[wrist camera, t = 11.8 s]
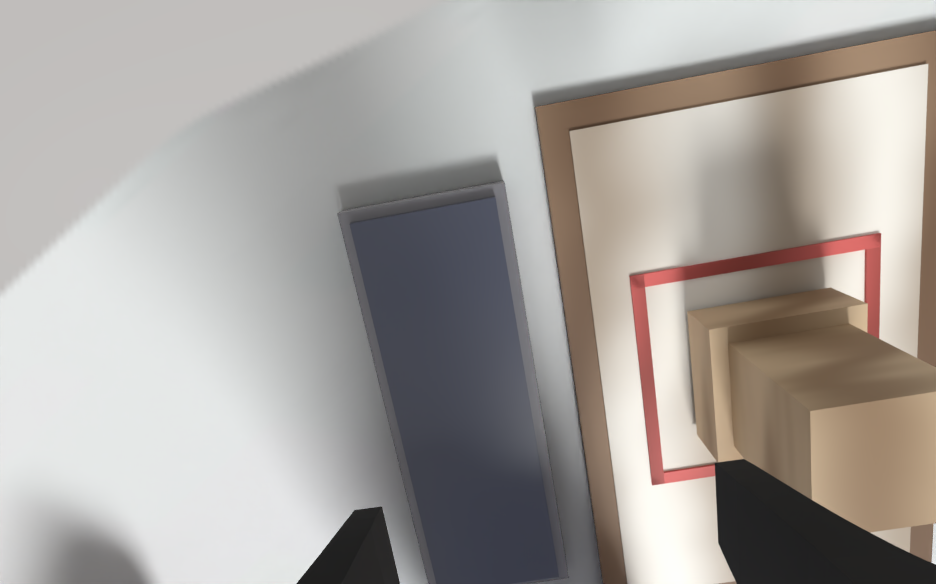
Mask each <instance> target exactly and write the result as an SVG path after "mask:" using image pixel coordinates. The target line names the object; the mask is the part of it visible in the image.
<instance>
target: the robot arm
mask: <svg viewBox="0 0 936 584" xmlns="http://www.w3.org/2000/svg"><path fill="white" fill-rule="evenodd" d="M715 481H716V504H717V526H718V544H719V546H720V548H721V550H722V553H723V555H724V557H725V559H726V562H727V564H728V566H729V568H730V570H731V572H732V575H733V577H734V579H735V581H736V583H737V584H936V565H935V564H933V563H931V562H928V561H926V560H924V559H922V558H920V557H917V556H915V555H913V554H911V553H909V552H907V551H905V550H903V549H901V548H899V547H897V546H895V545H893V544H891V543H889V542H887V541H885V540H883V539H881V538H879V537H877V536H876V535H874V534H872V533H870V532H868V531H866V530H864V529H862V528H860V527H858V526H857V525H855V524H853V523H851V522H849V521H848V520H846V519H844V518H842V517H840V516H839V515H837V514H835V513H833V512H832V511H830V510H828V509H827V508H825V507H823V506H821V505H820V504H818V503H816V502H815V501H813V500H811V499H810V498H808V497H806V496H805V495H803V494H801V493H800V492H798V491H796V490H795V489H793V488H791V487H790V486H788V485H787V484H785V483H783V482H782V481H780V480H778V479H777V478H775V477H774V476H772V475H770V474H769V473H767V472H765V471H764V470H762V469H760V468H759V467H757V466H755V465H754V464H752V463H750V462H748V461H747V460H745V459H740V460H732V461H725V462H717V463H715ZM297 584H400V582H399V578H398V573H397V569H396V565H395V561H394V556H393V552H392V548H391V544H390V540H389V535H388V531H387V527H386V523H385V518H384V514H383V510H382V507H376V508H368V509H360V510H355V511H354V512H353V513H352V514H351V515H350V517H349V518H348V519H347V520H346V522H345V523H344V524H343V526H342V527H341V528H340V529H339V531H338V532H337V533H336V535H335V536H334V537H333V538H332V540H331V541H330V542H329V544H328V545H327V546H326V548H325V549H324V550H323V551H322V553H321V554H320V555H319V556H318V558H317V559H316V560H315V561H314V563H313V564H312V565H311V566H310V568H309V569H308V570H307V571H306V573H305V574H304V575H303V576H302V578H301V579H300V580H299V581H298V582H297Z"/></svg>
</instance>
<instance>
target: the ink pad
mask: <svg viewBox="0 0 936 584" xmlns="http://www.w3.org/2000/svg"><path fill="white" fill-rule="evenodd" d="M338 217H339V222H340V226H341V230H342V234H343V238H344V242H345V246H346V250H347V254H348V258H349V262H350V266H351V270H352V274H353V278H354V282H355V287H356V291H357V295H358V299H359V303H360V307H361V311H362V315H363V319H364V323H365V327H366V331H367V335H368V339H369V343H370V347H371V352H372V356H373V360H374V364H375V368H376V372H377V376H378V380H379V384H380V388H381V392H382V396H383V400H384V404H385V408H386V413H387V417H388V421H389V425H390V429H391V433H392V437H393V441H394V445H395V449H396V453H397V457H398V461H399V465H400V469H401V473H402V478H403V482H404V486H405V490H406V494H407V498H408V502H409V506H410V510H411V514H412V518H413V522H414V526H415V530H416V534H417V538H418V543H419V547H420V551H421V555H422V559H423V563H424V567H425V571H426V575H427V579H428V583H429V584H529V583H536V582H543V581H550V580H557V579H564V578H569V576H568V570H567V564H566V558H565V552H564V546H563V540H562V533H561V527H560V521H559V515H558V509H557V503H556V497H555V490H554V484H553V478H552V472H551V466H550V460H549V453H548V447H547V441H546V435H545V429H544V423H543V417H542V410H541V404H540V398H539V392H538V386H537V380H536V374H535V367H534V361H533V355H532V349H531V343H530V337H529V330H528V324H527V318H526V312H525V306H524V300H523V294H522V287H521V281H520V275H519V269H518V263H517V257H516V251H515V244H514V238H513V232H512V226H511V220H510V214H509V207H508V201H507V195H506V189H505V183H504V181H500V182H495V183H489V184H484V185H478V186H473V187H467V188H462V189H457V190H451V191H446V192H440V193H435V194H429V195H424V196H419V197H413V198H408V199H402V200H397V201H392V202H386V203H381V204H375V205H370V206H364V207H359V208H354V209H348V210H343V211H341V212H339V213H338Z"/></svg>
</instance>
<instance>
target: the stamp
mask: <svg viewBox="0 0 936 584" xmlns="http://www.w3.org/2000/svg"><path fill="white" fill-rule="evenodd" d="M687 316H688V328H689V341H690V353H691V366H692V378H693V391H694V403H695V416H696V428H697V435H698V437H699V438H700V439H701V441H702V442H703V444H704V445H705V446H706V448H707V449H708V450H709V452H710V453H711V454H712V456H713V457H714V458H715V460H716V461H717V462H725V461H732V460H740V459H745V460H747V461H748V462H750V463H752V464H754V465H755V466H757V467H759V468H760V469H762V470H764V471H765V472H767V473H769V474H770V475H772V476H774V477H775V478H777V479H778V480H780V481H782V482H783V483H785V484H787V485H788V486H790V487H791V488H793V489H795V490H796V491H798V492H800V493H801V494H803V495H805V496H806V497H808V498H810V499H811V500H813V501H815V502H816V503H818V504H820V505H821V506H823V507H825V508H827V509H828V510H830V511H832V512H833V513H835V514H837V515H839V516H840V517H842V518H844V519H846V520H848V521H849V522H851V523H853V524H855V525H857V526H858V527H860V528H862V529H864V530H866V531H868V532H877V531H884V530H891V529H898V528H905V527H912V526H919V525H926V524H933V523H936V367H934V366H932V365H930V364H928V363H926V362H924V361H922V360H920V359H918V358H916V357H914V356H912V355H910V354H908V353H906V352H904V351H902V350H900V349H898V348H896V347H894V346H892V345H890V344H888V343H887V342H885V341H883V340H881V339H879V338H877V337H875V336H873V335H871V334H869V333H867V318H868V303H865V302H863V301H861V300H858V299H856V298H854V297H851V296H849V295H847V294H844V293H842V292H840V291H838V290H835V289H833V288H831V287H830V288H824V289H818V290H813V291H807V292H801V293H795V294H789V295H783V296H777V297H771V298H765V299H759V300H753V301H747V302H741V303H735V304H729V305H723V306H717V307H711V308H705V309H699V310H693V311H687Z"/></svg>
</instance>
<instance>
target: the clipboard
mask: <svg viewBox="0 0 936 584" xmlns="http://www.w3.org/2000/svg"><path fill="white" fill-rule="evenodd" d="M535 111H536V118H537V125H538V132H539V139H540V146H541V153H542V160H543V167H544V174H545V181H546V188H547V195H548V202H549V209H550V216H551V223H552V230H553V237H554V244H555V251H556V258H557V265H558V272H559V279H560V286H561V293H562V300H563V307H564V314H565V321H566V328H567V335H568V342H569V349H570V356H571V363H572V370H573V377H574V384H575V391H576V398H577V405H578V412H579V419H580V426H581V433H582V440H583V447H584V454H585V461H586V468H587V475H588V482H589V489H590V496H591V503H592V510H593V517H594V524H595V531H596V538H597V545H598V552H599V559H600V566H601V573H602V580H603V584H737V583H736V581H735V579H734V577H733V575H732V572H731V570H730V568H729V566H728V564H727V562H726V559H725V557H724V555H723V553H722V550H721V548H720V546H719V544H718V526H717V504H716V481H715V463H717V461H716V460H715V458H714V457H713V456H712V454H711V453H710V452H709V450H708V449H707V448H706V446H705V445H704V444H703V442H702V441H701V439H700V438H699V437H698V435H697V428H696V416H695V403H694V391H693V378H692V366H691V353H690V341H689V328H688V316H687V311H693V310H699V309H705V308H711V307H717V306H723V305H729V304H735V303H741V302H747V301H753V300H759V299H765V298H771V297H777V296H783V295H789V294H795V293H801V292H807V291H813V290H818V289H824V288H830V287H831V288H833V289H835V290H838V291H840V292H842V293H844V294H847V295H849V296H851V297H854V298H856V299H858V300H861V301H863V302H865V303H868V318H867V333H869V334H871V335H873V336H875V337H877V338H879V339H881V340H883V341H885V342H887V343H888V344H890V345H892V346H894V347H896V348H898V349H900V350H902V351H904V352H906V353H908V354H910V355H912V356H914V357H916V358H918V359H920V360H922V361H924V362H926V363H928V364H930V365H932V366H934V367H936V30H935V31H930V32H924V33H919V34H914V35H909V36H904V37H898V38H893V39H888V40H883V41H877V42H872V43H867V44H862V45H857V46H851V47H846V48H841V49H836V50H830V51H825V52H820V53H815V54H810V55H804V56H799V57H794V58H789V59H783V60H778V61H773V62H768V63H763V64H757V65H752V66H747V67H742V68H736V69H731V70H726V71H721V72H716V73H710V74H705V75H700V76H695V77H689V78H684V79H679V80H674V81H669V82H663V83H658V84H653V85H648V86H642V87H637V88H632V89H627V90H622V91H616V92H611V93H606V94H601V95H595V96H590V97H585V98H580V99H575V100H569V101H564V102H559V103H554V104H548V105H543V106H538V107H535ZM870 533H872V534H874V535H876V536H877V537H879V538H881V539H883V540H885V541H887V542H889V543H891V544H893V545H895V546H897V547H899V548H901V549H903V550H905V551H907V552H909V553H911V554H913V555H915V556H917V557H920V558H922V559H924V560H926V561H928V562H931V559H932V540H933V524H926V525H919V526H912V527H905V528H898V529H891V530H884V531H877V532H870Z"/></svg>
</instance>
